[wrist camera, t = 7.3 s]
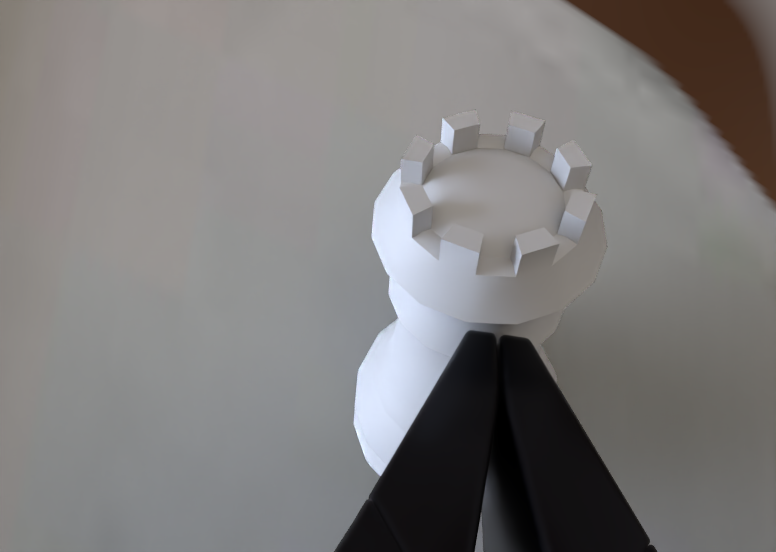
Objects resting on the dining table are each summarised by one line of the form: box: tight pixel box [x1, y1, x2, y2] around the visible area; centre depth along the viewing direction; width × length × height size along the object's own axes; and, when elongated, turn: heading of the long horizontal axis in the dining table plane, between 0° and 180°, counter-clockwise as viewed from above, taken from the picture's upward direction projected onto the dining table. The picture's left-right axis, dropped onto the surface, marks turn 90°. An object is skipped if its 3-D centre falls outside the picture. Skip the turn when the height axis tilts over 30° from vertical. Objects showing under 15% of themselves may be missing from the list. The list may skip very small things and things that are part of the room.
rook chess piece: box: [354, 109, 608, 477], centre depth 12 cm, size 4×4×8 cm
